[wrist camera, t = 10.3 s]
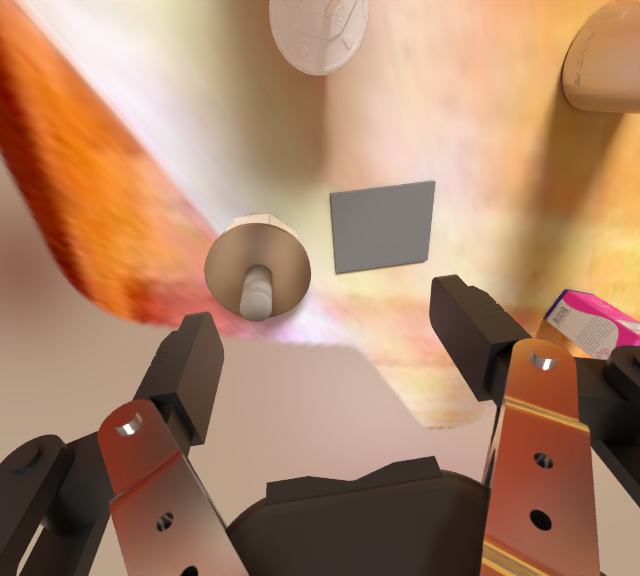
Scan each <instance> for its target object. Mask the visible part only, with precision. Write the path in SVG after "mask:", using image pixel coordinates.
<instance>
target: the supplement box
mask: <svg viewBox="0 0 640 576" xmlns="http://www.w3.org/2000/svg"><path fill="white" fill-rule="evenodd" d="M544 319H545V320H546V321H547V322H548V323H550V324H551V325H552V326H553V327H555V328H556V329H557V330H558V331H560V332H561V333H562V334H563V335H565V336H566V337H567V338H568V339H570V340H571V341H572V342H573V343H575V344H576V345H577V346H578V347H580V348H581V349H582V350H583V351H585V352H586V353H587V354H588V355H590V356H591V357H592V358H593V359H603V360H607V359H608V357H609V355H610V353H611V352H612V350H613V349H614V348H616V347H619V346H623V345H635V346H640V322H638V321H636V320H635V319H633V318H631V317H630V316H628V315H626V314H625V313H623V312H621V311H620V310H618V309H617V308H615V307H613V306H612V305H610V304H608V303H607V302H605V301H603V300H602V299H600V298H598V297H597V296H595V295H593V294H588V293H583V292H578V291H573V290H568V289H565V290H564V292H563V293H562V294H561V296H560V297H559V298H558V300H557V301H556V302H555V304H554V305H553V307H552V308H551V309H550V311H549V312H548V313H547V315H546V316H545V317H544Z"/></svg>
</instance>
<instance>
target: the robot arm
mask: <svg viewBox="0 0 640 576" xmlns="http://www.w3.org/2000/svg"><path fill="white" fill-rule="evenodd" d="M563 90H564V94H565V96H566V98H567V100H568V102H569V103H570V104H571V105H572V106H573V107H575V108H577V109H579V110H584V111H599V112H616V113H634V114H640V0H616V1H613V2H611V3H610V4H608V5H606V6H605V7H603V8H602V9H600V10H599V11H598V12H597V13H596V14H595V15H593V16H592V17H591V18H590V19H589V21H588V22H587V23H586V24H585V25H584V26H583V27H582V29H581V30H580V32H579V33H578V35H577V36H576V38H575V40H574V42H573V44H572V46H571V48H570V50H569V52H568V55H567V58H566V61H565V64H564V69H563ZM429 316H430V322H431V325H432V328H433V330H434V331H435V333H436V335H437V336H438V338H439V339H440V341H441V343H442V344H443V346H444V347H445V349H446V350H447V352H448V354H449V355H450V357H451V358H452V360H453V362H454V363H455V365H456V366H457V368H458V370H459V371H460V373H461V374H462V376H463V378H464V379H465V381H466V382H467V384H468V386H469V387H470V389H471V390H472V392H473V394H474V395H475V397H476V398H477V400H478V402H480V401H487V400H493V401H494V402H495V404H496V405H497V407H496V411H495V416H494V421H493V427H492V432H491V437H490V443H489V448H488V453H487V459H486V464H485V468H484V473H483V477H482V481H481V483H480V482H478V481H476V480H473V479H472V478H469V477H467V476H464V475H461V474H459V473H456V472H451V471H447V470H441V469H440V468H439V466H438V463H437V461H436V458H435V456H431V457H424V458H419V459H412V460H406V461H400V462H394V463H391V464H389V465H387V466H385V467H383V468H381V469H379V470H376V471H374V472H372V473H370V474H368V475H366V476H364V477H361V478H359V479H357V480H354V481H345V480H337V479H328V478H320V477H311V476H306V477H300V478H294V479H288V480H281V481H275V482H269V483H267V489H266V498H263V499H261V500H260V501H258V502H256V503H255V504H253V505H251V506H250V507H249V508H247V509H246V510H245V511H244V512H242V513H241V514H240V515H239V516H238V517H237V518H236V519H235V520H234V521H233V522H232V523H231V524H230V525H229V526H228V527H227V525H226V523H225V522H224V520H223V518H222V517H221V515H220V513H219V512H218V510H217V508H216V506H215V505H214V503H213V501H212V500H211V498H210V496H209V494H208V492H207V491H206V489H205V487H204V486H203V484H202V482H201V480H200V479H199V477H198V475H197V473H196V471H195V470H194V468H193V466H192V465H191V463H190V461H189V459H188V458H187V457H188V454H189V450H190V446H195V445H202V444H204V443H205V438H206V434H207V430H208V426H209V421H210V417H211V413H212V409H213V404H214V400H215V395H216V392H217V387H218V382H219V378H220V374H221V370H222V366H223V362H224V349H223V345H222V342H221V339H220V337H219V334H218V331H217V329H216V326H215V324H214V321H213V318H212V316H211V314H210V313H209V312H202V313H195V314H189V315H186V316H185V317H184V319H183V321H182V323H181V326H180V328H179V330H177V331H172V332H171V333H170V334H169V335H168V336H167V337H166V338H165V339H164V340H163V341H162V342H161V344H160V346H159V348H158V350H157V352H156V356H155V357H154V358H153V360H152V362H151V366H149V368H148V370H147V372H146V374H145V376H144V378H143V380H142V382H141V384H140V386H139V388H138V390H137V392H136V394H135V396H134V398H133V400H132V401H130V402H128V403H126V404H123V405H122V406H120V407H118V408H117V409H115V410H114V411H113V412H112V413H111V414H110V415H108V416H107V418H106V419H105V420H104V421H103V423H102V424H101V426H100V428H99V430H98V431H97V432H94V433H92V434H89V435H87V436H85V437H82V438H80V439H77V440H75V441H72V442H70V443H68V444H65V443H64V442H63V441H62V440H61V439H60V438H59V437H58V436H56V435H43V436H40V437H37V438H34V439H32V440H30V441H28V442H26V443H25V444H23V445H21V446H20V447H18V448H17V449H16V450H14V451H13V452H12V453H11V454H10V455H8V456H7V457H6V458H5V459H4V460H3V461H2V462H1V463H0V576H16V574H17V569H18V565H19V562H20V561H21V558H22V557H23V555H24V553H25V551H26V549H27V547H28V545H29V543H30V541H31V539H32V538H33V536H34V534H35V532H36V530H37V528H38V526H39V524H41V525H42V526H44V528H43V530H42V532H41V534H40V536H39V538H38V540H37V542H36V544H35V546H34V547H33V549H32V551H31V553H30V555H29V557H28V559H27V561H26V563H25V565H24V567H23V569H22V571H21V573H20V575H19V576H88V575H89V572H90V569H91V566H92V564H93V561H94V558H95V555H96V553H97V550H98V547H99V544H100V542H101V539H102V536H103V533H104V531H105V528H106V525H107V523H108V520H109V517H110V515H111V517H112V520H113V524H114V527H115V531H116V535H117V538H118V542H119V545H120V548H121V552H122V556H123V559H124V563H125V566H126V570H127V573H128V576H606V575H605V574H604V573H602V572H601V571H600V563H599V548H598V535H597V521H596V508H595V495H594V480H593V468H592V453H591V447H592V448H593V450H594V451H595V452H596V453H597V455H598V456H599V457H600V458H601V460H602V461H603V462H604V463H605V465H606V466H607V467H608V468H609V470H610V471H611V472H612V473H613V475H614V476H615V477H616V479H617V480H618V481H619V482H620V484H621V485H622V486H623V487H624V489H625V490H626V491H627V492H628V494H629V495H630V496H631V497H632V499H633V500H634V501H635V502H636V504H637V505H638V506H639V508H640V346H635V345H623V346H619V347H616V348H614V349H613V350H612V352H611V353H610V355H609V357H608V359H607V360H603V359H591V358H579V357H573V356H572V355H571V354H570V353H569V352H568V351H567V350H566V349H564V348H563V347H561V346H559V345H557V344H555V343H553V342H550V341H547V340H543V339H535V338H532V337H531V336H530V335H529V334H528V333H527V332H526V331H525V330H524V329H523V328H522V327H521V326H520V325H519V324H518V323H517V322H516V321H515V320H514V319H513V318H512V317H511V316H510V315H509V314H508V313H507V312H504V309H503V308H502V307H501V306H500V305H499V304H496V301H495V300H494V299H493V298H492V297H491V296H490V295H489V294H488V293H486V292H484V291H482V290H481V289H479V288H477V287H475V286H467V285H466V284H465V283H464V282H463V281H462V279H461V278H460V277H459V276H458V275H455V274H454V275H448V276H441V277H435V278H433V280H432V285H431V298H430V310H429Z"/></svg>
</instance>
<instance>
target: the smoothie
mask: <svg viewBox="0 0 640 576" xmlns="http://www.w3.org/2000/svg"><path fill="white" fill-rule="evenodd" d="M269 18H270V24H271V30H272V34H273V37H274V39H275V42H276V44H277V47H278V49H279V50H280V51H281V53H282V54H283V56H284V57H285V59H286V60H287V61H288V62H289V63H290V64H291V65H293V66H294V67H295V68H296V69H298V70H300V71H302V72H304V73H306V74H309V75H316V76H322V75H328V74H332V73H334V72H336V71H337V70H339V69H341V68H343V67H344V66H345V65H346V64H347V63H348V62H349V61H350V60H351V59H352V58H353V56H354V55H355V54H356V52H357V51H358V49H359V47H360V45H361V43H362V41H363V38H364V36H365V32H366V28H367V23H368V0H270V7H269Z"/></svg>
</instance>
